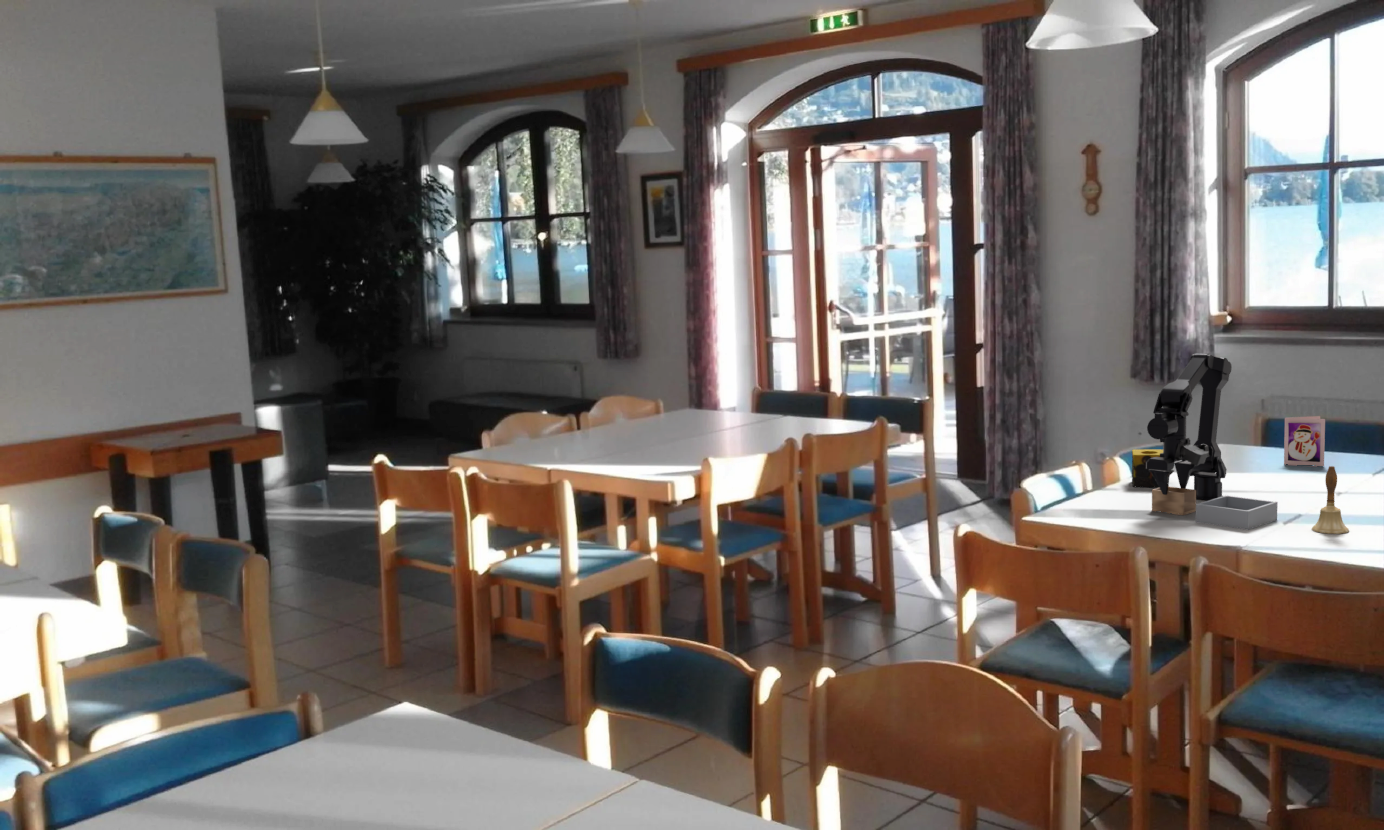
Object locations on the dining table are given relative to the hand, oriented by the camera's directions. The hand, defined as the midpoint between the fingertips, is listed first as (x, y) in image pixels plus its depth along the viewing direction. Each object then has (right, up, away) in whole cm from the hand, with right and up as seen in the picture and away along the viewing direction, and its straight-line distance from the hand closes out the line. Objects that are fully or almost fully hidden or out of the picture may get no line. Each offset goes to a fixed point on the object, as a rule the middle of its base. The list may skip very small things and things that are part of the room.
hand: (1174, 491), depth 348 cm
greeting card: (+64, +5, +61) cm, 88 cm away
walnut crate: (0, -5, +1) cm, 5 cm away
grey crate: (+11, -7, -14) cm, 19 cm away
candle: (+7, 0, +38) cm, 39 cm away
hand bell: (+28, -8, -28) cm, 40 cm away
